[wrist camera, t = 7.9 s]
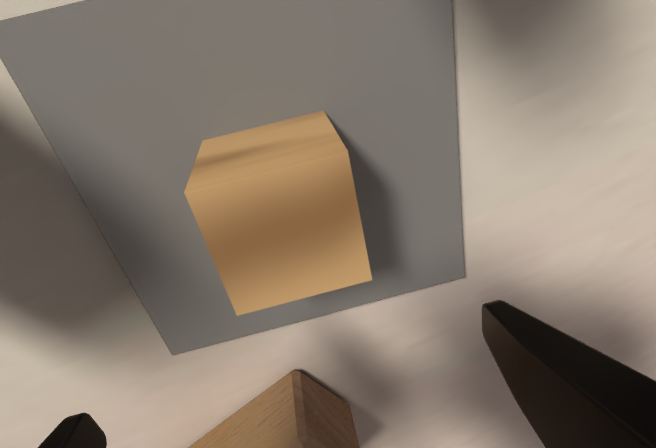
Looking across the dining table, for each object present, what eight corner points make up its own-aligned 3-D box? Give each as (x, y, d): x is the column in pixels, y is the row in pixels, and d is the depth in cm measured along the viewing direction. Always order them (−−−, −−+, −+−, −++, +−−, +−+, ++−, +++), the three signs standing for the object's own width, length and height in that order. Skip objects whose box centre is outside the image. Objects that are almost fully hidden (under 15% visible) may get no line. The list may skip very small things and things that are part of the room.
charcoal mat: (458, 268, 23) (464, 277, 22) (174, 344, 22) (172, 355, 22) (438, -82, 15) (447, -87, 14) (-6, 23, 14) (-19, 25, 14)
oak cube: (345, 215, 19) (372, 280, 15) (240, 242, 19) (236, 316, 15) (323, 110, 17) (347, 151, 12) (202, 140, 16) (184, 192, 12)
